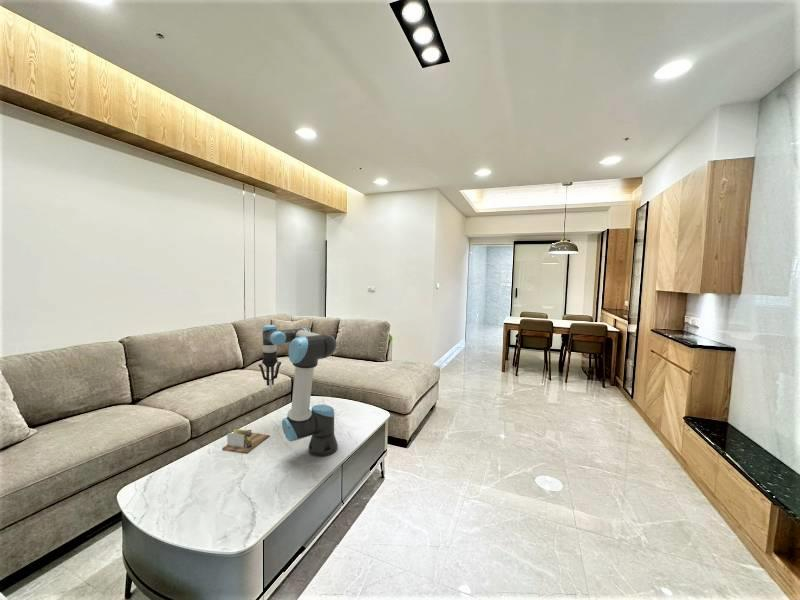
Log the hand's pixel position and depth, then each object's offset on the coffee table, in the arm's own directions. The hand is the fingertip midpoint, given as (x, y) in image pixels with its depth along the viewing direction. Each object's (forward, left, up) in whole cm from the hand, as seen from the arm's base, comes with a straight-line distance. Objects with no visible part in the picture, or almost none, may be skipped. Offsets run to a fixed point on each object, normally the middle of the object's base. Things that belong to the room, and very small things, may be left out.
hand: (270, 390), depth 194 cm
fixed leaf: (+3, +22, -23) cm, 32 cm away
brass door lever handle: (+3, +20, -23) cm, 31 cm away
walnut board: (+4, +17, -24) cm, 30 cm away
